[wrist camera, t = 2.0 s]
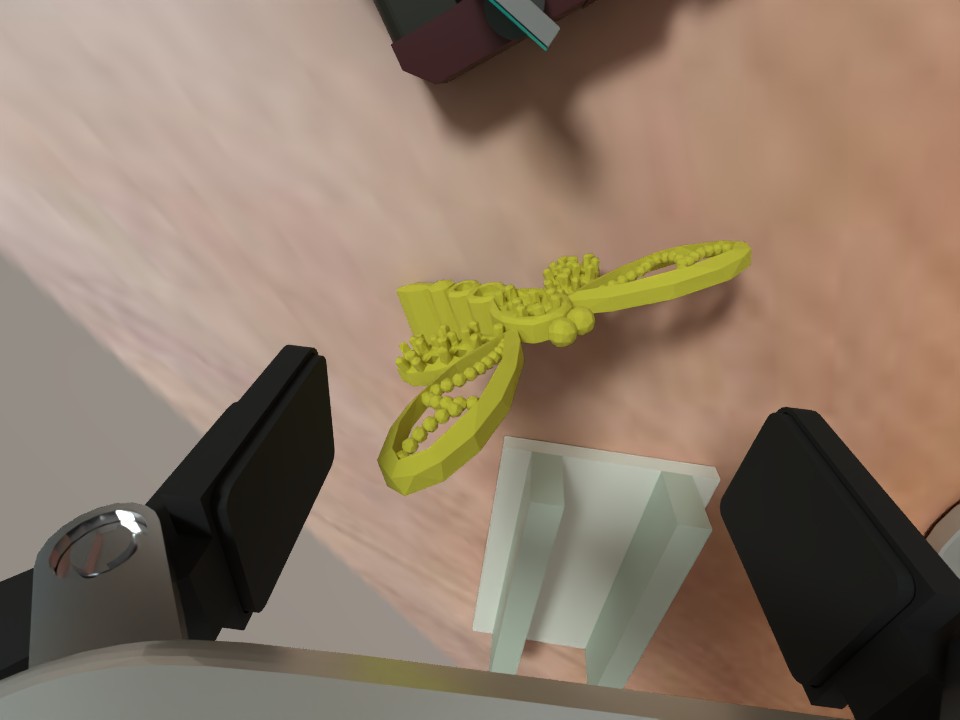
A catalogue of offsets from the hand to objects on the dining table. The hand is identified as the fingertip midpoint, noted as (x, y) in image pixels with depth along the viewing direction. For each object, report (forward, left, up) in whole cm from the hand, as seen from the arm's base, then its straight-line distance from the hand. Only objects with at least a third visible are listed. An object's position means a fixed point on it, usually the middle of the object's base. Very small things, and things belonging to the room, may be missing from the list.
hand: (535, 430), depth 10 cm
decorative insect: (-1, 0, -10) cm, 10 cm away
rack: (-5, +16, -9) cm, 19 cm away
